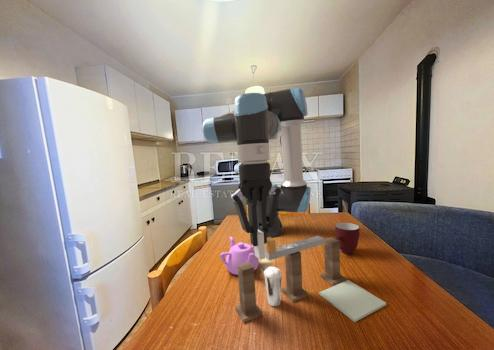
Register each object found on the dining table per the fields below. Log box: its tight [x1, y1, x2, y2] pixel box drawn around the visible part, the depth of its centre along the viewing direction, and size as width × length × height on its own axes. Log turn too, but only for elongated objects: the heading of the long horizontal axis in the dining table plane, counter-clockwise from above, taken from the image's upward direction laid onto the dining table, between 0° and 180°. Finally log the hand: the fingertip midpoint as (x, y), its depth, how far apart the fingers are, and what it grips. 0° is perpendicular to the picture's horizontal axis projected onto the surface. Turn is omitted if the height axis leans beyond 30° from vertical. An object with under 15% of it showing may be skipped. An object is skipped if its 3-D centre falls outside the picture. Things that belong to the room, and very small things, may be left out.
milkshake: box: [261, 266, 283, 307], centre depth 56 cm, size 4×5×10 cm
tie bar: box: [264, 235, 325, 261], centre depth 58 cm, size 2×18×5 cm, turn 115°
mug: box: [334, 222, 360, 255], centre depth 79 cm, size 10×8×10 cm
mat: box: [318, 279, 387, 323], centre depth 55 cm, size 11×11×1 cm
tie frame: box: [234, 237, 346, 323], centre depth 58 cm, size 5×33×12 cm, turn 115°
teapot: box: [219, 235, 260, 276], centre depth 74 cm, size 12×14×9 cm
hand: (259, 256), depth 54 cm, fingers closed
